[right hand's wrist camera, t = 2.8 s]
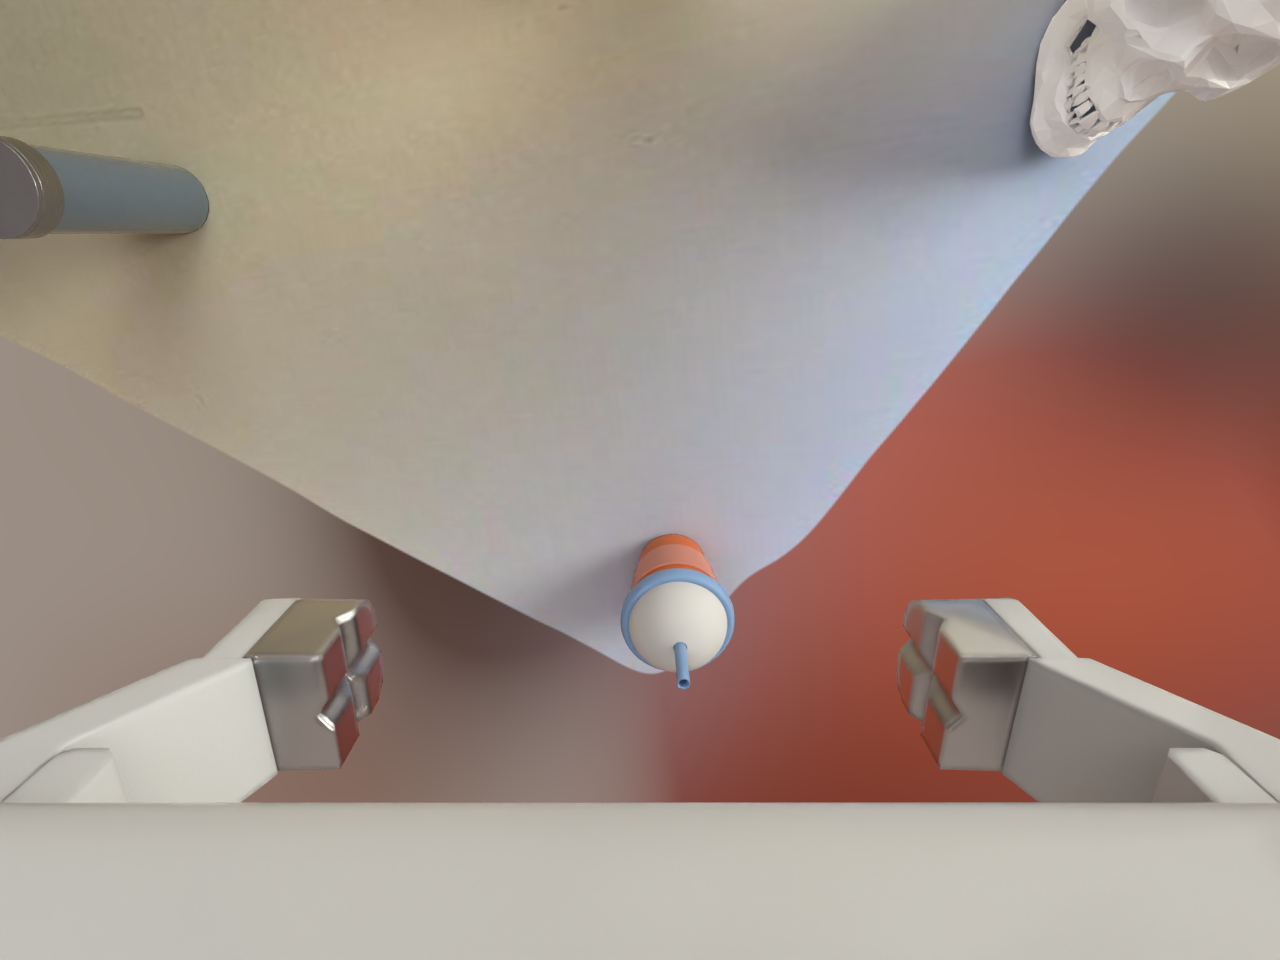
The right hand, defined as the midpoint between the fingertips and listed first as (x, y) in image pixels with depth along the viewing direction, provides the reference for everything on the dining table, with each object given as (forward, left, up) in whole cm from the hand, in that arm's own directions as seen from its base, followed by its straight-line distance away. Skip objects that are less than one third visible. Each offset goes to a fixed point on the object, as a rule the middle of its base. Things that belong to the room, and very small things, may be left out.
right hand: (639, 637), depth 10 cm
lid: (-8, -36, -32) cm, 49 cm away
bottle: (-8, -36, -48) cm, 61 cm away
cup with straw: (+23, +3, -48) cm, 53 cm away
